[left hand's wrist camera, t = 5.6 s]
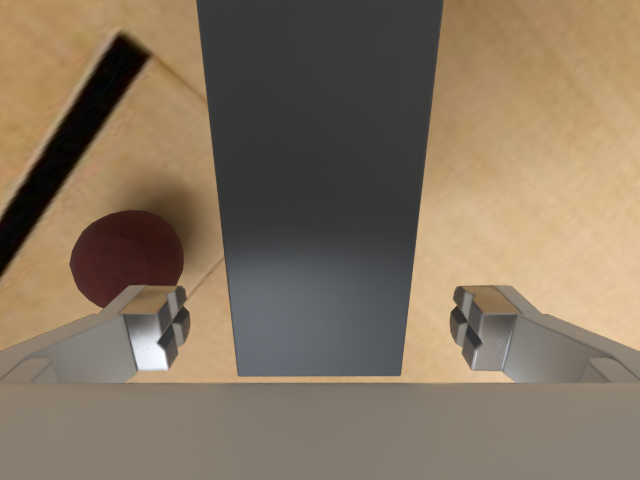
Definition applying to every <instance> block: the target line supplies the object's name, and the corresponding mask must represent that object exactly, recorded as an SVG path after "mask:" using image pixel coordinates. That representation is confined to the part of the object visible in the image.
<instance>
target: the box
mask: <svg viewBox="0 0 640 480" xmlns="http://www.w3.org/2000/svg"><path fill="white" fill-rule="evenodd" d="M443 1H444V0H196V2H197V11H198V20H199V29H200V38H201V47H202V56H203V66H204V75H205V84H206V93H207V102H208V111H209V120H210V129H211V138H212V147H213V156H214V165H215V174H216V183H217V192H218V201H219V210H220V219H221V228H222V237H223V246H224V255H225V264H226V273H227V282H228V291H229V300H230V309H231V318H232V327H233V336H234V345H235V354H236V363H237V372H238V376H400V375H401V369H402V360H403V351H404V342H405V334H406V325H407V316H408V307H409V299H410V290H411V281H412V272H413V264H414V255H415V246H416V237H417V229H418V220H419V211H420V202H421V194H422V185H423V176H424V167H425V159H426V150H427V141H428V132H429V124H430V115H431V106H432V97H433V89H434V80H435V71H436V62H437V54H438V45H439V36H440V27H441V19H442V10H443Z"/></svg>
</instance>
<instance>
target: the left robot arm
mask: <svg viewBox="0 0 640 480" xmlns="http://www.w3.org/2000/svg"><path fill="white" fill-rule="evenodd" d="M186 300H187V297H186V292H185V289H184V288H183V287H182V286H161V285H149V286H148V285H131V286H128V287H127V288H126V289H125V290H124V291H122V292H121V293H120V294H119V295H118V296H117V297H116V298H115V299H114V300H113V301H112V302H110V303H109V304H108V305H107V306H106V307H105V308H104V309H103V310H102V311H101V312H100V313H98V314H91V315H89V316H86V317H84V318H81V319H79V320H76V321H74V322H71V323H69V324H67V325H64V326H62V327H59V328H57V329H54V330H52V331H49V332H47V333H44V334H42V335H39V336H37V337H34V338H32V339H29V340H27V341H24V342H22V343H19V344H17V345H15V346H12V347H10V348H7V349H5V350H2V351H0V480H640V351H638V350H635V349H633V348H630V347H628V346H625V345H623V344H620V343H618V342H615V341H613V340H610V339H608V338H606V337H603V336H601V335H598V334H596V333H593V332H591V331H588V330H586V329H583V328H581V327H578V326H576V325H573V324H571V323H568V322H566V321H564V320H561V319H559V318H556V317H554V316H551V315H549V314H542V313H540V312H539V311H538V310H537V309H536V308H535V307H534V306H533V305H532V304H531V303H530V302H528V301H527V300H526V299H525V298H524V297H523V296H522V295H521V294H520V293H519V292H518V291H517V290H515V289H514V288H513V287H512V286H510V285H482V286H458V287H456V289H455V291H454V296H453V300H454V302H455V303H456V305H457V306H456V307H455V308H454V309H453V310H452V311H451V315H450V331H451V334H452V337H453V339H454V341H455V343H456V344H458V345H459V346H461V347H463V349H462V355H463V357H464V358H465V360H466V362H467V364H468V365H469V367H470V369H471V370H478V371H503V373H504V374H505V375H507V376H508V377H509V378H511V379H512V380H513V381H515V382H516V383H124V382H125V381H127V380H128V379H129V378H131V377H132V376H133V375H135V374H136V373H137V371H161V370H169V369H170V367H171V365H172V364H173V362H174V360H175V358H176V357H177V355H178V349H177V347H179V346H181V345H182V344H184V343H185V341H186V339H187V337H188V334H189V330H190V314H189V311H188V310H187V309H186V308H185V307H184V306H183V305H184V303H185V302H186Z"/></svg>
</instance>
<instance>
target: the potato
mask: <svg viewBox="0 0 640 480" xmlns="http://www.w3.org/2000/svg"><path fill="white" fill-rule="evenodd" d="M69 265H70V268H71V271H72V274H73V277H74V281H75V283H76V285H77V287H78V289H79V290H80V291H81V292H82V294H83V295H84V296H85V297H86V298H87V299H88V300H90V301H91V302H93V303H94V304H96V305H97V306H99V307H102V308H105V307H106V306H107V305H108V304H109V303H110V302H112V301H113V300H114V299H115V298H116V297H117V296H118V295H119V294H120V293H121V292H122V291H124V290H125V289H126V288H127V287H128V286H131V285H148V286H149V285H161V286H176V285H177V283H178V280H179V278H180V276H181V273H182V271H183V249H182V246H181V242H180V240H179V238H178V236H177V235H176V233H175V231H174V230H173V228H172V227H171V226H170V225H169V224H168V223H167V222H166V221H165V220H163V219H162V218H160V217H159V216H157V215H155V214H152V213H149V212H146V211H137V210H127V211H121V212H117V213H112V214H109V215H107V216H105V217H103V218H101V219H99V220H97V221H95V222H93V223H92V224H90V225H89V226H88V227H87V228H86V229H85V230H84V231H83V232H82V233H81V235H80V237H79V239H78V240H77V242H76V244H75V246H74V248H73V250H72V254H71V259H70V264H69Z"/></svg>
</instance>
